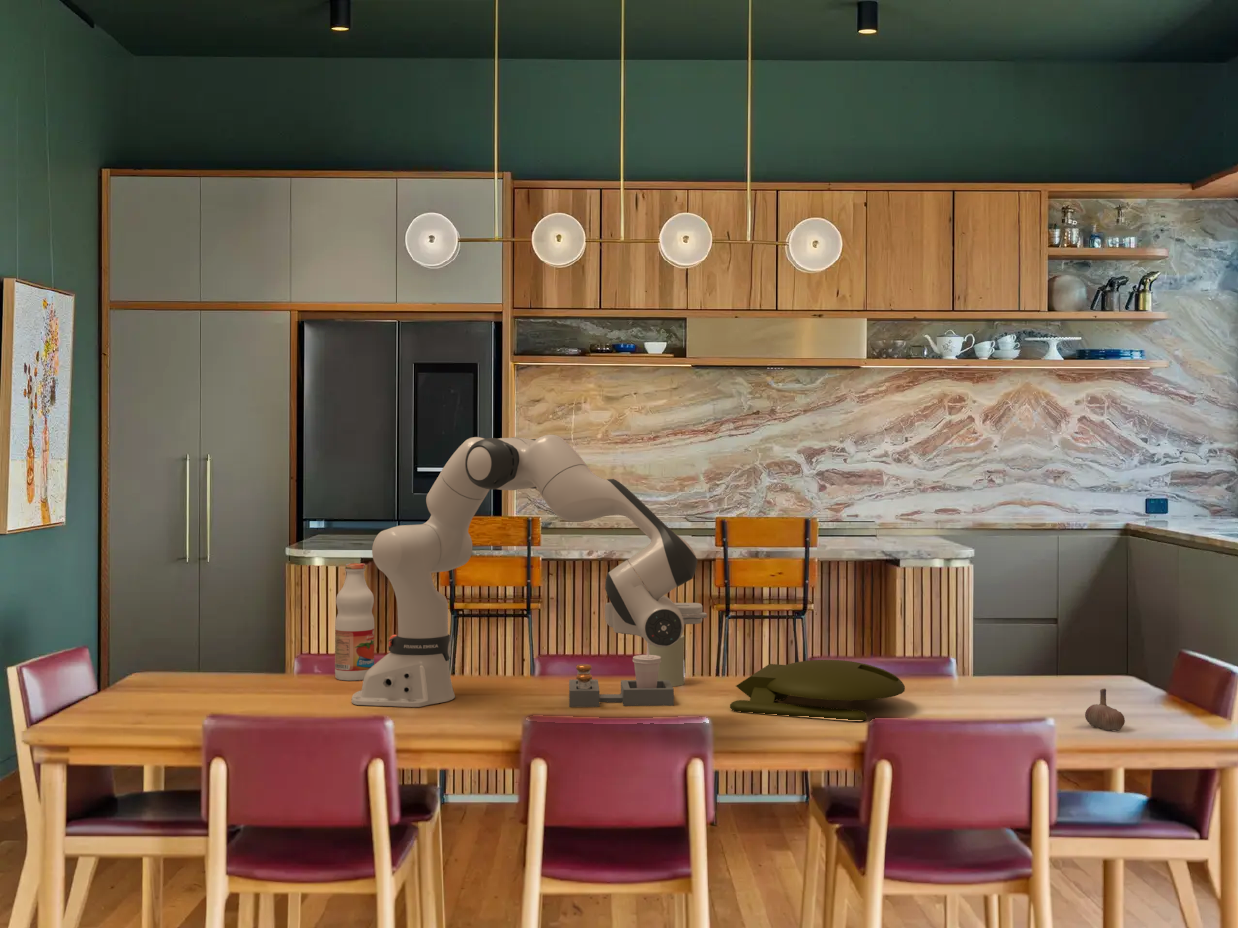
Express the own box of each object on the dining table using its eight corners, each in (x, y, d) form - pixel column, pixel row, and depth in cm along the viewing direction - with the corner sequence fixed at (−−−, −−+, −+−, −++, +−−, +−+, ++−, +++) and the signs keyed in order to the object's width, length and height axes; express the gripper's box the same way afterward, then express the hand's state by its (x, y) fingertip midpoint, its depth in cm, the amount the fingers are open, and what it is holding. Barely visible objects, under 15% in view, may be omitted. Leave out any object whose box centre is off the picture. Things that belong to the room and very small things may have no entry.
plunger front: (576, 702, 240) (576, 676, 240) (576, 698, 243) (576, 673, 243) (592, 702, 240) (592, 676, 240) (591, 698, 243) (591, 673, 243)
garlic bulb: (1082, 723, 225) (1082, 684, 225) (1121, 725, 223) (1121, 686, 223) (1087, 731, 218) (1087, 690, 218) (1127, 734, 216) (1127, 693, 216)
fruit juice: (341, 673, 276) (342, 562, 276) (378, 674, 275) (379, 562, 275) (329, 680, 266) (330, 565, 266) (367, 681, 266) (368, 565, 266)
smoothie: (640, 704, 241) (641, 640, 241) (627, 698, 246) (627, 636, 247) (666, 701, 244) (666, 638, 244) (652, 696, 249) (652, 634, 249)
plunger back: (576, 691, 246) (576, 666, 246) (576, 688, 249) (576, 664, 249) (591, 691, 246) (591, 666, 246) (591, 688, 249) (591, 664, 249)
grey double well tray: (569, 706, 238) (569, 690, 238) (569, 694, 251) (569, 679, 251) (674, 706, 239) (674, 690, 239) (668, 694, 252) (668, 679, 252)
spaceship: (726, 713, 234) (726, 667, 234) (762, 687, 262) (762, 646, 263) (894, 728, 221) (895, 679, 221) (912, 699, 250) (912, 656, 250)
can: (692, 684, 264) (692, 634, 264) (661, 688, 259) (661, 637, 259) (669, 678, 272) (669, 629, 272) (638, 682, 267) (638, 632, 267)
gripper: (708, 600, 220) (700, 593, 234) (606, 601, 219) (603, 593, 233) (708, 632, 220) (700, 623, 234) (606, 632, 219) (603, 623, 233)
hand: (651, 608), depth 233 cm, fingers open, 7 cm apart
